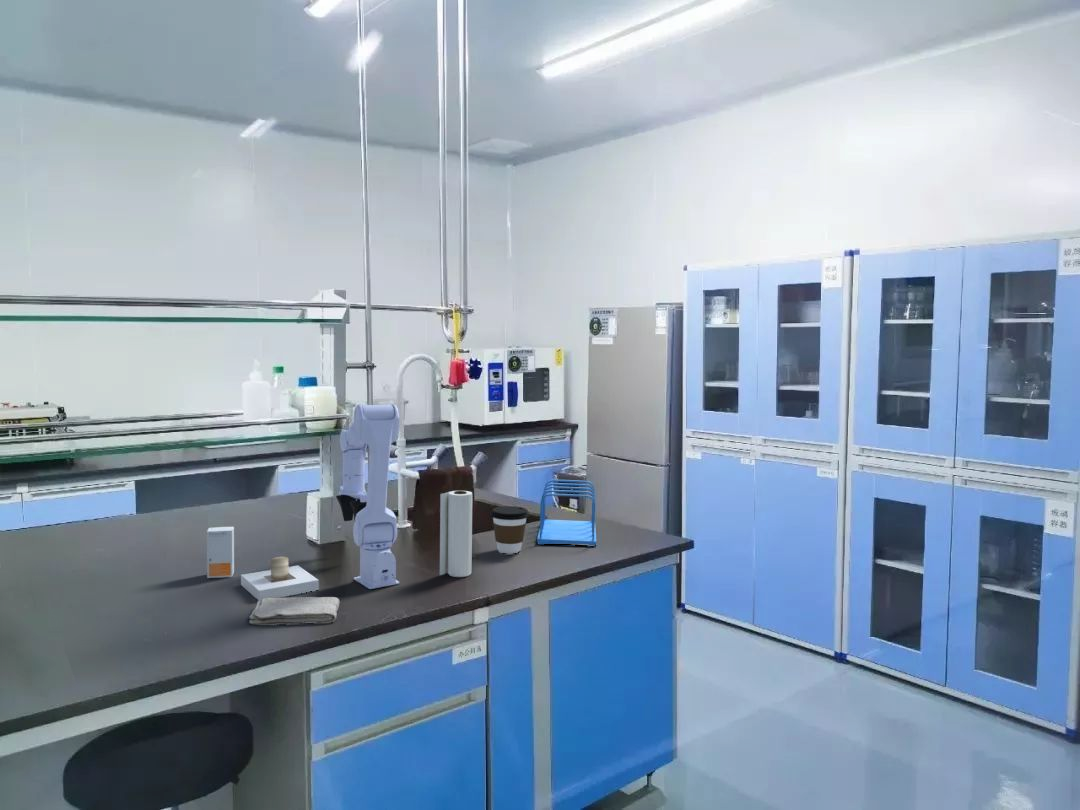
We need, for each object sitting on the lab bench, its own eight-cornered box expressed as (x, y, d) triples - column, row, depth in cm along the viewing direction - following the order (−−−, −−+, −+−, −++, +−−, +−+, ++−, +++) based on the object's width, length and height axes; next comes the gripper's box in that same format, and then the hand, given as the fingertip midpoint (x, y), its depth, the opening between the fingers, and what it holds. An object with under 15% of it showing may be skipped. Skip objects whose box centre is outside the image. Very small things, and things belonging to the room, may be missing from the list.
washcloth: (258, 608, 177) (258, 595, 177) (340, 605, 180) (340, 592, 180) (247, 628, 165) (247, 614, 165) (336, 625, 168) (336, 611, 168)
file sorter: (596, 547, 231) (597, 496, 230) (536, 545, 232) (537, 494, 231) (594, 526, 256) (596, 479, 255) (541, 525, 257) (542, 478, 256)
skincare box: (206, 579, 195) (205, 531, 194) (209, 573, 199) (208, 527, 198) (233, 577, 197) (232, 530, 196) (234, 572, 201) (234, 526, 200)
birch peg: (291, 588, 190) (291, 559, 189) (275, 591, 187) (274, 562, 187) (284, 583, 193) (284, 555, 192) (268, 587, 190) (268, 558, 190)
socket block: (318, 590, 189) (318, 580, 188) (259, 601, 180) (259, 590, 180) (298, 575, 200) (298, 565, 199) (241, 584, 191) (240, 574, 191)
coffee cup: (515, 544, 232) (516, 504, 231) (535, 553, 223) (536, 511, 222) (483, 549, 227) (483, 508, 225) (502, 558, 217) (502, 516, 216)
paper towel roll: (474, 572, 205) (475, 490, 203) (466, 578, 199) (467, 495, 197) (448, 569, 207) (449, 488, 205) (439, 576, 201) (440, 493, 199)
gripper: (329, 471, 217) (329, 519, 219) (350, 479, 206) (350, 531, 207) (353, 469, 221) (353, 516, 223) (375, 477, 210) (375, 527, 211)
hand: (353, 523), depth 215 cm, fingers open, 7 cm apart
